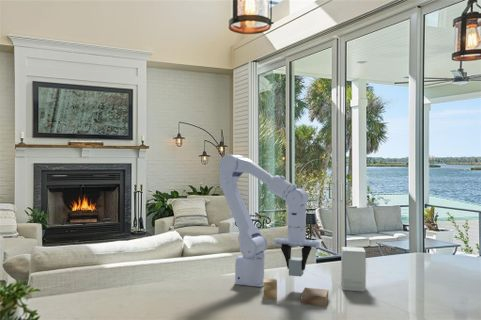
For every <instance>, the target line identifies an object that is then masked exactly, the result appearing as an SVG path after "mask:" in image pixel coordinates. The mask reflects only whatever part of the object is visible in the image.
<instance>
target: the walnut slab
mask: <svg viewBox="0 0 481 320" xmlns="http://www.w3.org/2000/svg"><path fill="white" fill-rule="evenodd" d="M328 301H329V289H324V288H313V287H304V289H303V290H302V292H301V295H300V303H303V305H309V304H310V305H309V306H320V307H327V304H328Z"/></svg>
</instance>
